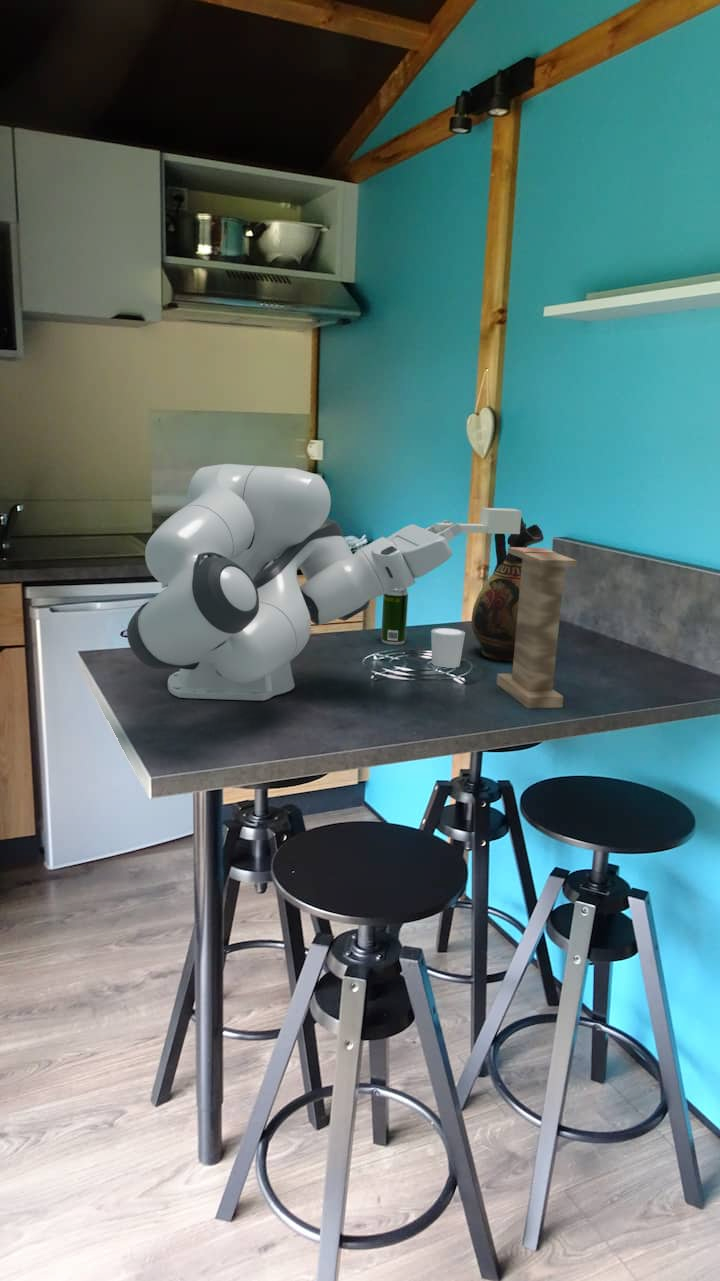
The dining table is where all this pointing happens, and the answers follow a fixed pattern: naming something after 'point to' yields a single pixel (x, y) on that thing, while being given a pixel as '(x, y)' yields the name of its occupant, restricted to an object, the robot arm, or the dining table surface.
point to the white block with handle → (491, 522)
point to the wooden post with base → (537, 628)
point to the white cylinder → (447, 647)
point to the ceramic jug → (502, 597)
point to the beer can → (394, 616)
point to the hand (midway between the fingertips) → (455, 525)
